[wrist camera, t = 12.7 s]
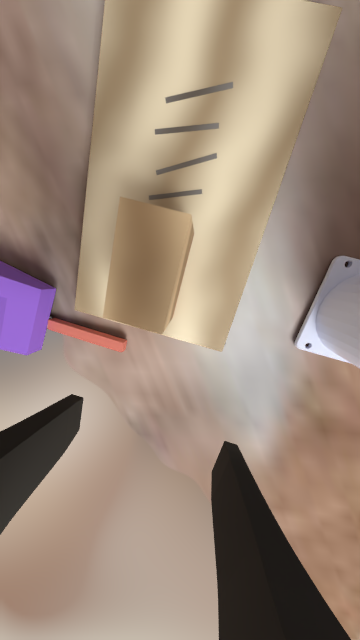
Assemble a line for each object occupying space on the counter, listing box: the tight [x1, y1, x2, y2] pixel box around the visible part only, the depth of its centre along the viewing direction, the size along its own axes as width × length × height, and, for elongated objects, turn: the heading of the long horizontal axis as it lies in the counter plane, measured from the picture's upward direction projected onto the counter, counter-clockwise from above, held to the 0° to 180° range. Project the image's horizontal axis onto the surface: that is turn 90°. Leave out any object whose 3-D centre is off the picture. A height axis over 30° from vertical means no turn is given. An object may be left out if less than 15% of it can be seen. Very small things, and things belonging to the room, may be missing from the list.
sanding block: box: [103, 197, 194, 334], centre depth 13 cm, size 4×7×4 cm, turn 166°
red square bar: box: [47, 318, 127, 352], centre depth 18 cm, size 9×1×1 cm, turn 77°
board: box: [75, 0, 342, 352], centre depth 14 cm, size 14×22×1 cm, turn 166°
